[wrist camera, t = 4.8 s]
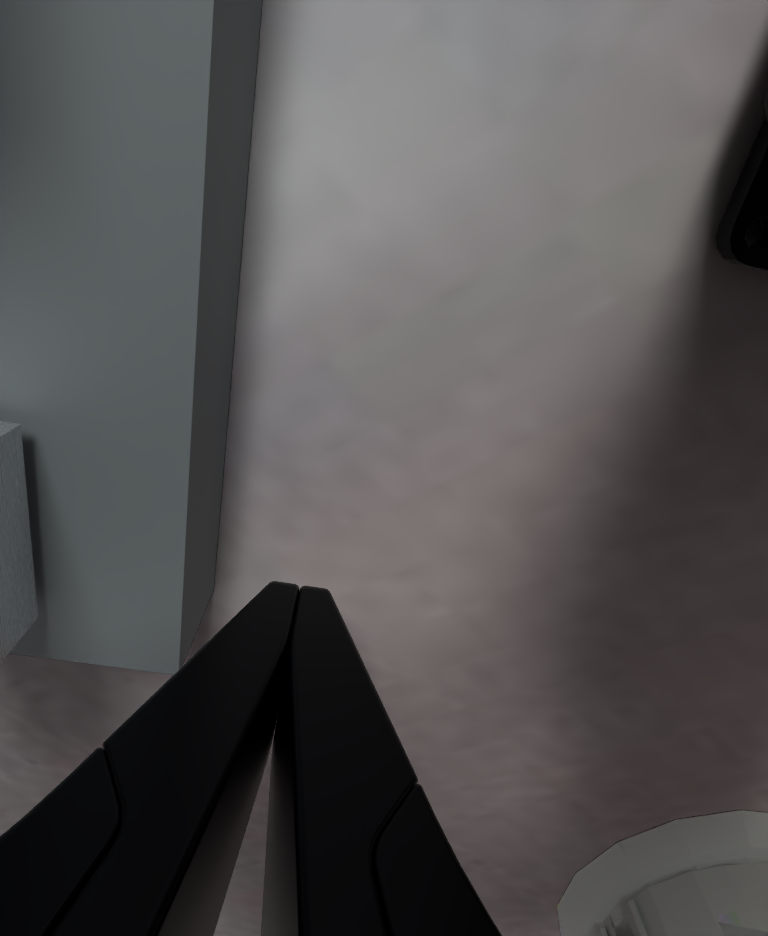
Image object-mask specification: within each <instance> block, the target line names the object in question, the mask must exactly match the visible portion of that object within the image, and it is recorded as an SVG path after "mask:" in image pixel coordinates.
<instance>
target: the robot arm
mask: <svg viewBox="0 0 768 936" xmlns="http://www.w3.org/2000/svg"><path fill="white" fill-rule="evenodd" d="M764 105H765V113H766V116H765V118H764V120H763V123H762V125H761V127H760V130H759V132H758V135H757V137H756V139H755V142H754V144H753V146H752V149H751V151H750V153H749V156H748V158H747V160H746V163H745V165H744V168H743V170H742V172H741V175H740V177H739V179H738V182H737V184H736V186H735V189H734V191H733V194H732V196H731V198H730V201H729V203H728V205H727V208H726V210H725V212H724V215H723V217H722V220H721V222H720V224H719V228H718V232H717V236H716V242H717V249H718V251H719V252H720V254H721V255H722V257H723V258H724V259H726V260H728V261H730V262H732V263H735V264H740V265H744V266H749V267H753V268H757V269H762V270H766V271H768V90H767V92H766V95H765V98H764ZM757 218H760V220H761V223H762V226H763V227H762V232H761V235H760V237H759V238H758V240H757V241H756V242H755V243H754V244H752V245H751V246H748V245H747V242H746V239H745V237H746V232H747V229H748V227H749V226H750V225H751V223H752V222H753V221H754V220H756V219H757ZM298 595H299V596H298ZM277 714H278V715H277ZM276 720H277V721H276ZM275 725H276V727H275ZM274 730H275V734H274ZM273 735H274V741H273V749H272V760H271V776H270V792H269V809H268V826H267V842H266V859H265V876H264V892H263V909H262V926H261V936H502V935H501V933H500V932H499V930H498V929H497V927H496V925H495V924H494V922H493V920H492V919H491V917H490V915H489V914H488V912H487V910H486V908H485V907H484V905H483V903H482V901H481V900H480V898H479V896H478V895H477V893H476V891H475V889H474V888H473V886H472V884H471V882H470V881H469V879H468V877H467V875H466V874H465V872H464V870H463V868H462V867H461V865H460V863H459V862H458V860H457V858H456V856H455V854H454V852H453V850H452V848H451V846H450V844H449V842H448V840H447V838H446V836H445V834H444V832H443V830H442V828H441V826H440V824H439V822H438V820H437V818H436V816H435V814H434V812H433V810H432V808H431V805H430V803H429V801H428V799H427V797H426V795H425V793H424V790H423V788H422V786H421V785H419V784H417V782H418V779H417V776H416V774H415V772H414V770H413V768H412V766H411V763H410V761H409V759H408V757H407V755H406V753H405V751H404V748H403V746H402V744H401V742H400V740H399V738H398V736H397V734H396V731H395V729H394V727H393V725H392V723H391V721H390V719H389V717H388V714H387V712H386V710H385V708H384V706H383V704H382V702H381V699H380V697H379V695H378V693H377V691H376V689H375V687H374V685H373V682H372V680H371V678H370V676H369V674H368V672H367V670H366V668H365V665H364V663H363V661H362V659H361V657H360V655H359V653H358V650H357V648H356V646H355V644H354V642H353V640H352V638H351V636H350V633H349V631H348V629H347V627H346V625H345V623H344V621H343V619H342V616H341V614H340V612H339V610H338V608H337V606H336V604H335V601H334V599H333V597H332V595H331V593H330V591H329V590H327V589H325V588H318V587H311V586H302V587H301V588H300V591H299V587H298V585H296V584H291V583H284V582H277V581H273V582H270V583H269V584H268V585H267V586H266V587H265V588H264V589H263V590H262V591H261V592H259V593H258V594H257V595H256V596H255V597H254V598H253V599H252V600H251V601H250V602H249V603H248V604H247V605H246V606H245V607H244V608H243V609H242V610H241V611H240V612H239V613H238V614H237V615H236V616H235V617H234V618H232V619H231V620H230V621H229V622H228V623H227V624H226V625H225V626H224V627H223V628H222V629H221V630H220V631H219V632H218V633H217V634H216V635H215V636H214V637H213V638H212V639H211V640H210V641H209V642H208V643H207V644H205V645H204V646H203V647H202V648H201V649H200V650H199V651H198V652H197V653H196V654H195V655H194V656H193V657H192V658H191V659H190V660H189V661H188V662H187V663H186V664H185V665H184V666H183V667H182V668H181V669H180V670H178V671H177V672H176V673H175V674H174V675H173V676H172V677H171V678H170V679H169V680H168V681H167V682H166V683H165V684H164V685H163V686H162V687H161V688H160V689H159V690H158V691H157V692H156V693H155V694H154V695H152V696H151V697H150V698H149V699H148V700H147V701H146V702H145V703H144V704H143V705H142V706H141V707H140V708H139V709H138V710H137V711H136V712H135V713H134V714H133V715H132V716H131V717H130V718H129V719H128V720H127V721H125V722H124V723H123V724H122V725H121V726H120V727H119V728H118V729H117V730H116V731H115V732H114V733H113V734H112V735H111V736H110V737H109V738H108V739H107V740H106V741H105V742H104V743H103V749H102V748H97V749H96V750H95V751H94V752H93V753H92V754H91V755H90V756H89V757H88V758H87V759H86V760H85V761H84V762H82V763H81V764H80V765H79V766H78V767H77V768H76V769H75V770H74V771H73V772H72V773H71V774H70V775H69V776H68V777H67V778H66V779H65V780H64V781H63V782H61V783H60V784H59V785H58V786H57V787H56V788H55V789H54V790H53V791H52V792H51V793H49V794H48V795H47V796H46V797H45V798H44V799H43V800H42V801H41V802H40V803H38V804H37V805H36V806H35V807H34V808H33V809H32V810H31V811H30V812H29V813H28V814H26V815H25V816H24V817H23V818H22V819H21V820H20V821H18V822H17V823H16V824H15V825H14V826H12V827H11V828H10V829H9V830H8V831H6V832H5V833H4V834H3V835H2V836H0V936H213V934H214V931H215V928H216V925H217V921H218V918H219V915H220V912H221V908H222V905H223V902H224V899H225V895H226V892H227V889H228V886H229V882H230V879H231V876H232V873H233V869H234V866H235V863H236V860H237V856H238V853H239V850H240V847H241V843H242V840H243V837H244V834H245V831H246V827H247V824H248V821H249V818H250V814H251V811H252V808H253V805H254V801H255V798H256V795H257V792H258V788H259V785H260V782H261V779H262V775H263V772H264V769H265V766H266V762H267V759H268V755H269V751H270V748H271V744H272V740H273Z"/></svg>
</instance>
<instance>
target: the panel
mask: <svg viewBox="0 0 768 936" xmlns="http://www.w3.org/2000/svg"><path fill="white" fill-rule="evenodd" d="M261 10H262V0H0V421H4V422H10V423H16V424H21V434H22V445H23V456H24V467H25V478H26V489H27V500H28V511H29V522H30V533H31V544H32V555H33V566H34V577H35V588H36V599H37V610H38V618H37V619H36V620H35V622H34V623H33V624H32V625H31V627H30V628H29V629H28V630H27V631H26V633H25V634H24V635H23V636H22V638H21V639H20V640H19V641H18V643H17V644H16V645H15V646H14V648H13V649H12V650H11V651H10V652H9V654H17V655H25V656H33V657H40V658H48V659H56V660H64V661H71V662H79V663H87V664H95V665H102V666H110V667H118V668H126V669H133V670H141V671H149V672H157V673H164V674H172V675H174V674H175V673H176V672H177V671H178V670H180V669H181V668H182V666H183V663H184V661H185V658H186V656H187V653H188V651H189V649H190V646H191V644H192V641H193V639H194V637H195V634H196V632H197V629H198V627H199V624H200V622H201V620H202V617H203V615H204V612H205V610H206V607H207V605H208V603H209V600H210V598H211V595H212V593H213V591H214V581H215V569H216V557H217V545H218V533H219V520H220V508H221V496H222V484H223V472H224V460H225V447H226V435H227V423H228V411H229V399H230V387H231V375H232V362H233V350H234V338H235V326H236V314H237V302H238V289H239V277H240V265H241V253H242V241H243V229H244V216H245V204H246V192H247V180H248V168H249V156H250V144H251V131H252V119H253V107H254V95H255V83H256V71H257V58H258V46H259V34H260V22H261Z"/></svg>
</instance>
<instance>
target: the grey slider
mask: <svg viewBox="0 0 768 936" xmlns="http://www.w3.org/2000/svg"><path fill="white" fill-rule="evenodd" d="M37 618H38V610H37V599H36V588H35V577H34V566H33V555H32V544H31V533H30V522H29V511H28V500H27V489H26V478H25V467H24V456H23V445H22V434H21V424H16V423H10V422H4V421H0V664H1V662H2V661H3V660H4V659H5V657H6V656H7V655H8V654H9V652H10V651H11V650H12V649H13V648H14V646H15V645H16V644H17V643H18V641H19V640H20V639H21V638H22V636H23V635H24V634H25V633H26V631H27V630H28V629H29V628H30V627H31V625H32V624H33V623H34V622H35V620H36V619H37Z"/></svg>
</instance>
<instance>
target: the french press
mask: <svg viewBox="0 0 768 936" xmlns="http://www.w3.org/2000/svg"><path fill="white" fill-rule="evenodd" d="M557 912H558V919H559V926H560V933H561V936H768V813H765V812H755V811H745V810H739V811H732V812H725V813H718V814H711V815H705V816H698V817H691V818H684V819H677V820H674V821H671V822H669V823H666V824H664V825H661V826H658V827H656V828H653V829H651V830H648V831H646V832H643V833H640V834H638V835H635V836H633V837H630V838H628V839H625V840H622V841H620V842H617V843H616V844H614V845H613V846H612V847H610V848H609V849H608V850H606V851H605V852H604V853H602V854H601V855H600V856H598V857H597V858H596V859H594V860H593V861H592V862H590V863H589V864H588V865H586V866H585V867H584V868H582V869H581V870H580V871H578V872H577V873H576V874H575V875H574V877H573V879H572V881H571V882H570V884H569V886H568V888H567V889H566V891H565V893H564V895H563V896H562V898H561V900H560V902H559V903H558V905H557Z"/></svg>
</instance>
